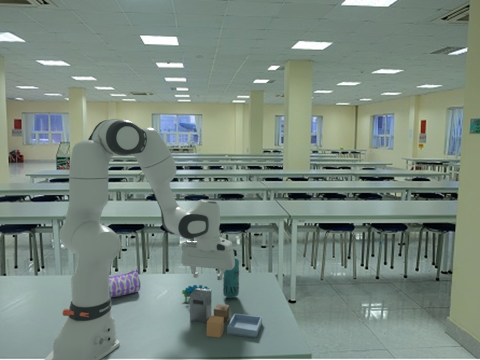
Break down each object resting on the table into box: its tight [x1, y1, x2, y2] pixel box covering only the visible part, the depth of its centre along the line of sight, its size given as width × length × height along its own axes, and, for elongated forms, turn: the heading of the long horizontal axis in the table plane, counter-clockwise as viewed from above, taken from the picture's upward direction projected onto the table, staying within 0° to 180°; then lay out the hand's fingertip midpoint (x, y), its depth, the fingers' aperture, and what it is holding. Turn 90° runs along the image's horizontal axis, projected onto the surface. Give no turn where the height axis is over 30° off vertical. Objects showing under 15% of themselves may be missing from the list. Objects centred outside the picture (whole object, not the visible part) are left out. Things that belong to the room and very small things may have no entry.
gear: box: [181, 284, 211, 303], centre depth 157 cm, size 11×6×10 cm
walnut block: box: [213, 303, 230, 325], centre depth 142 cm, size 4×4×5 cm
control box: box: [189, 288, 212, 325], centre depth 142 cm, size 7×6×10 cm
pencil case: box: [109, 268, 141, 299], centre depth 160 cm, size 22×9×10 cm, turn 127°
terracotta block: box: [206, 315, 225, 338], centre depth 132 cm, size 4×4×5 cm
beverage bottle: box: [222, 248, 240, 299], centre depth 159 cm, size 6×7×20 cm
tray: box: [226, 313, 263, 339], centre depth 136 cm, size 10×10×3 cm
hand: (207, 278), depth 149 cm, fingers open, 8 cm apart
